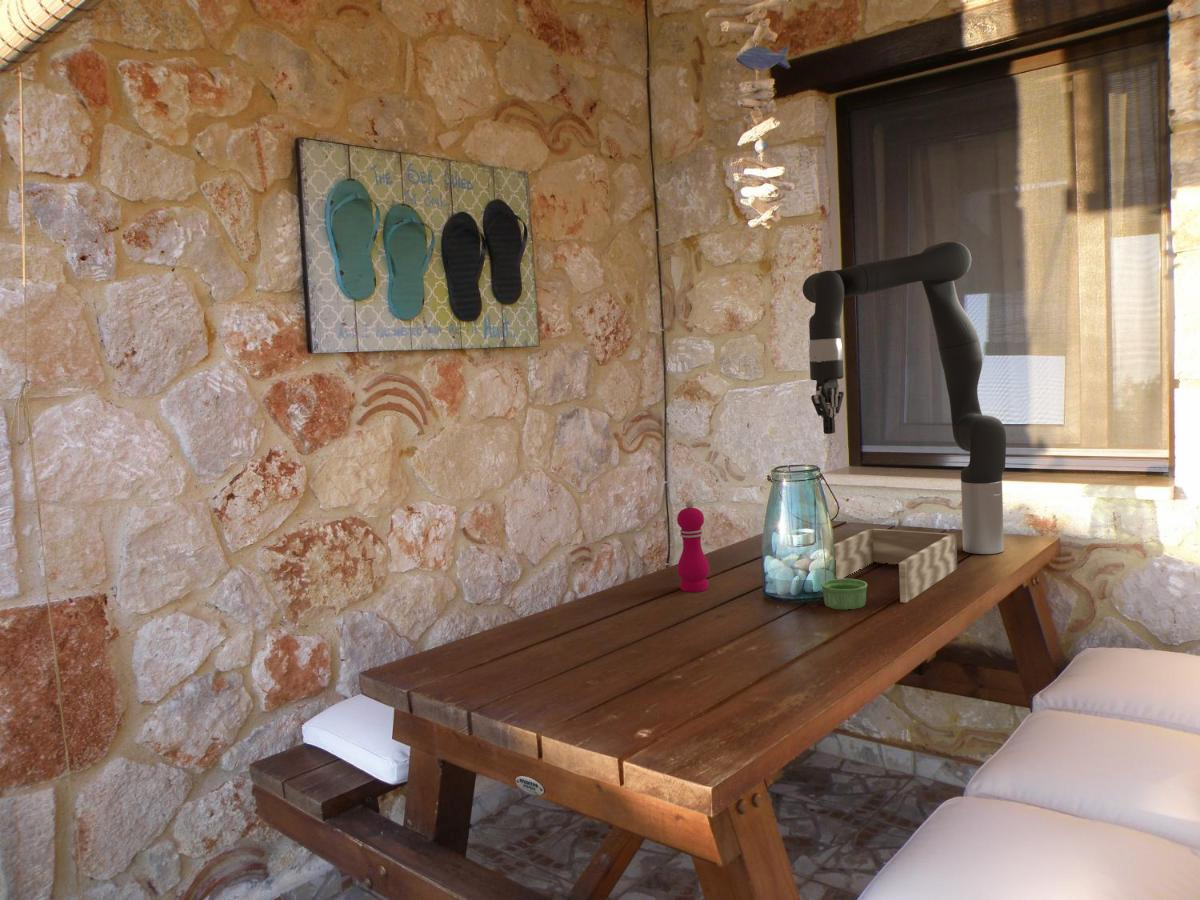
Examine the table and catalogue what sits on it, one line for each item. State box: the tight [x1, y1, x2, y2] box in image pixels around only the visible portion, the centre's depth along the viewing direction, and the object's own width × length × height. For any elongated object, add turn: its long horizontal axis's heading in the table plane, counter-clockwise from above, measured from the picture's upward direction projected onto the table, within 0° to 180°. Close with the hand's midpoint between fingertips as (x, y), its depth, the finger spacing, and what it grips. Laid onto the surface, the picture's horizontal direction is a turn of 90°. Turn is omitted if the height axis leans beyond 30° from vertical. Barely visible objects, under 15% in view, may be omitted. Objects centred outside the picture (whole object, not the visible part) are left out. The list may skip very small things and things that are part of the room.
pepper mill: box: [676, 500, 711, 593], centre depth 204 cm, size 7×7×20 cm
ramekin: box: [821, 577, 868, 611], centre depth 184 cm, size 9×9×4 cm
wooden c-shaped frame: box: [833, 528, 958, 604], centre depth 201 cm, size 32×20×8 cm, turn 141°
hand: (829, 433), depth 212 cm, fingers closed
